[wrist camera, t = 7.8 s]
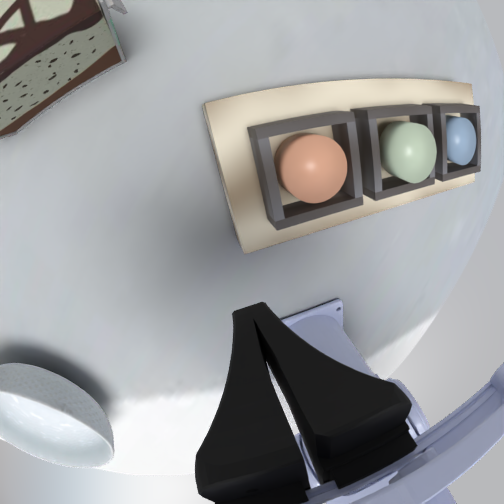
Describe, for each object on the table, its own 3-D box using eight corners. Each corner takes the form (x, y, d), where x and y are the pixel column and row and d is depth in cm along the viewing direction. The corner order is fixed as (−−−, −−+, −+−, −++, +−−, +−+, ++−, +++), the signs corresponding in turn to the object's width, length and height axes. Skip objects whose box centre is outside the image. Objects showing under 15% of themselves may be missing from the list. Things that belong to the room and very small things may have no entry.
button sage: (420, 171, 18) (436, 177, 17) (380, 181, 18) (396, 188, 16) (417, 118, 16) (435, 121, 15) (375, 123, 16) (392, 126, 14)
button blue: (461, 157, 20) (476, 162, 18) (435, 162, 19) (450, 168, 18) (460, 114, 18) (475, 117, 16) (433, 115, 17) (449, 118, 16)
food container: (121, -14, 11) (87, -91, 2) (147, 51, 14) (118, -6, 5) (-18, 81, 11) (-106, 87, 2) (3, 145, 14) (-88, 182, 5)
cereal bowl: (61, 432, 29) (56, 472, 22) (-26, 361, 20) (-44, 403, 14) (144, 410, 29) (146, 461, 23) (39, 316, 20) (15, 373, 14)
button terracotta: (336, 186, 18) (350, 194, 17) (280, 201, 18) (290, 211, 16) (328, 127, 16) (342, 130, 15) (268, 139, 16) (277, 143, 14)
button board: (457, 175, 24) (488, 188, 20) (237, 239, 22) (251, 269, 18) (452, 82, 19) (487, 85, 15) (201, 104, 17) (208, 101, 13)
